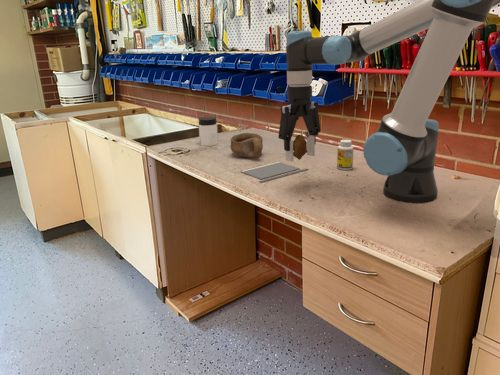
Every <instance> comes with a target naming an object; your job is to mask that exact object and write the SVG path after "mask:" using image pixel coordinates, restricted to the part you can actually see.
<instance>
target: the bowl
mask: <svg viewBox="0 0 500 375" xmlns="http://www.w3.org/2000/svg"><path fill="white" fill-rule="evenodd" d="M263 146H264V145H263V136H261V135H259V134H258V133H254V132H253V133H252V132H251V133H249V132H244V133H240V134H234V135H233V136H232V137H231V138H230V149H231V150H230V151H231V152H232V153H233V154H235V155H236V156H238V157H241V158H259V157H260V156H261V155H262V153H263V152H262V151H263V148H264V147H263Z"/></svg>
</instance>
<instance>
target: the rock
mask: <svg viewBox="0 0 500 375" xmlns="http://www.w3.org/2000/svg"><path fill="white" fill-rule="evenodd" d="M304 134H305V136H304V135H303V134H297V135H296V136H295V139H294V140H293V158H295V159H297V160H301V159H302V158H303V157H304V156H305V155H307V140H306V139H305V137H306V138H307V137H309V135H310V134H309V132H308V130H307V131H304Z"/></svg>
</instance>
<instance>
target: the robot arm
mask: <svg viewBox="0 0 500 375" xmlns="http://www.w3.org/2000/svg"><path fill="white" fill-rule="evenodd" d="M499 4H500V0H417V1H416V2H414V3H411V4H409V5H407V6H405V7H404V8H401V9H400V10H398V11H395V12H394V13H391V14H390V15H387V16H385V17H384V18H381V19H380V20H378V21H376V22H374V23H372V24H369V25H367V26H366V27H363V28H362V29H360V30H358V31H356V32H353V33H352V34H349V35H338V34H337V35H335V34H334V35H329V36H327V35H326V36H319V37H318V36H317V37H315V36H314V37H313V33H312V31H311V30H297V31H296V30H293V31H289V32H288V33H287V34H286V44H285V51H286V52H285V53H286V84H287V85H288V86H287V88H286V93H287V94H286V95H287V96H286V97H287V99H288V103H287V105H282V106H280V113H281V114H280V120H279V128H278V130H279V131H278V137H277V138H278V139H280V140H282V141H283V149H284V152H285V161H288V162H294V156H293V152H294V151H293V141H294V140H293V139H292V136H293V134H294V130H295V127H296V125H297V121H298V120H299V119H300V117H301V118H302V119H303V122H304V124H305V127H306V130H307V131H308V135H309V137H306V143H307V153H306V155H308V156H311V157H314V156H316V155H315V154H316V153H315V152H316V151H315V150H316V149H315V148H316V146H315V145H316V143H317V142H316V141H317V140H316V136H318V135H319V133H320V132H321V121H320V116H319V110H318V109H319V102H318V101H312V100H311V99H312V98H313V86H312V84H313V65H314V66H315V65H331V66H335V65H336V66H337V65H343V64H346V63H358V62H360V61H364V60H365V59H367V58H368V56H370V55H372V54H374V53H376V52H378V51H381V50H384V49H385V48H388V47H390V46H392V45H394V44H396V43H398V42H401V41H404V40H405V39H408V38H410V37H412V36H414V35H417V34H418V33H421V32H423V31H426V30H427V32H426V34H425V37H424V39H423V42H422V43H421V46H420V48H419V50H418V53H417V55H416V57H415V59H414V62H413V64H412V66H411V68H410V71H409V73H408V75H407V76H406V80H405V82H404V83H403V84H404V85H402V86H403V87H402V88H401V91H400V93H399V96H398V97H397V99H396V103H395V104H394V106H393V109H392V111H391V112H390V113H388V114H386V115H383V117H382V119H381V121H380V123H379V126H378V128H377V130H376V132H374V133H372V134H371V135H370V136H369V137H367V139H366V140H365V143H364V145H363V158H364V159H365V161H366V165H368V167H369V169H371V170H372V171H373V172H374V173H377V174H379V175H382V176H385V177H386V176H387V177H386V180H385V182H384V185H383V190H382V191H383V192H382V193H383V195H384V196H385V197H386V198H388V199H390V200H392V201H396V202H398V203H406V204H417V205H418V204H428V203H431V202H435V201H436V200H437V198H438V192H439V191H438V187H437V181H436V176H435V174H434V173H435V172H434V170H435V161H436V153H437V146H438V140H439V134H440V131H439V126H440V125H439V122H438V121H437V120H435V119H430V118H429V117H430V115H431V113H432V111H433V109H434V107H435V105H436V103H437V101H438V98H439V97H440V94H441V93H442V91H443V89H444V87H445V84H446V83H447V81H448V78H449V77H450V75H451V73H452V70H453V69H454V67H455V65H456V63H457V61H458V59H459V57H460V54H461V53H462V51H463V48H464V46H465V44H466V43H467V41H468V38H469V37H470V35H471V32H472V31H473V29H474V28H477V27H479V26H480V25H483V24H484V23H485V21H486V19H487V17H488V15H489V14H490V11H491V10H492V8H493V7H495V6H497V5H499Z"/></svg>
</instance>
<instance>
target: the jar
mask: <svg viewBox="0 0 500 375" xmlns="http://www.w3.org/2000/svg"><path fill="white" fill-rule="evenodd" d="M217 121H218V119H217V117H216V116H203V117H199V118H198V136H199V144H200V146H202V147H213V146H218V145H217V144H219V137H218V124H217V123H218V122H217Z"/></svg>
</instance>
